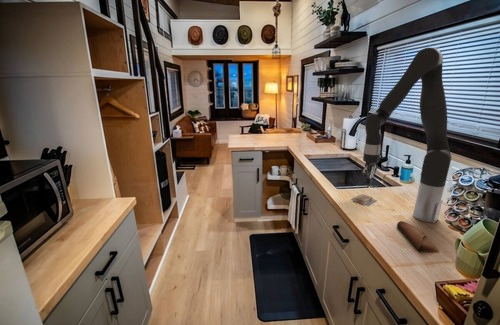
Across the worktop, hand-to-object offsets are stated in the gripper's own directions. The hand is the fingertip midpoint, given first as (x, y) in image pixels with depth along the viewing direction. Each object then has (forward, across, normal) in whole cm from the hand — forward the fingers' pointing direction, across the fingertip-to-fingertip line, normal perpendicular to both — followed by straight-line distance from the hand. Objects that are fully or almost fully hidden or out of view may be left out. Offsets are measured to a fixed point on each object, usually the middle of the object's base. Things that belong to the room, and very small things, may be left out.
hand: (368, 184), depth 135 cm
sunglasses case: (+11, -18, -31) cm, 37 cm away
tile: (+8, +2, 0) cm, 8 cm away
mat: (+9, -2, 0) cm, 9 cm away
